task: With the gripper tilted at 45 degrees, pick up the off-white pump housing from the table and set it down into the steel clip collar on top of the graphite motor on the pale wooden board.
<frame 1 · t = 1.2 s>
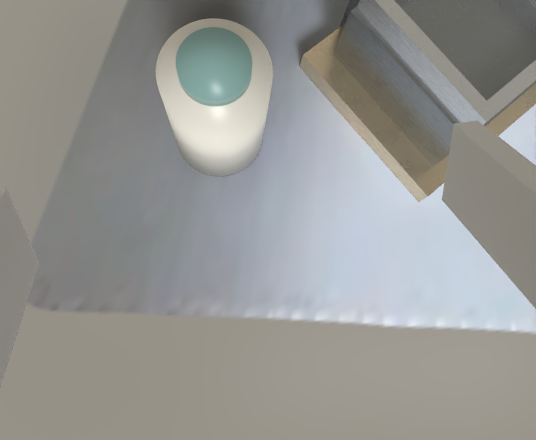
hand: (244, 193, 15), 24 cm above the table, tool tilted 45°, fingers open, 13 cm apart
motor: (427, 77, 43), on the table
pump: (219, 134, 41), on the table
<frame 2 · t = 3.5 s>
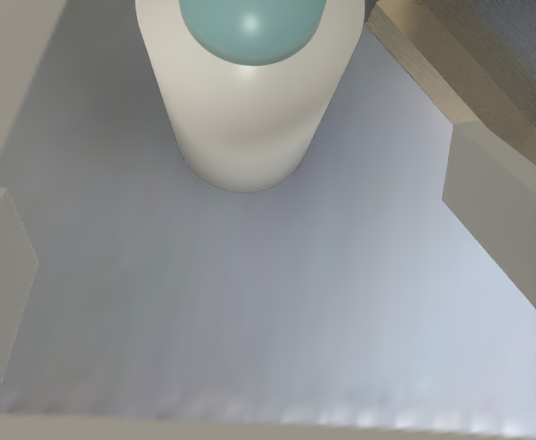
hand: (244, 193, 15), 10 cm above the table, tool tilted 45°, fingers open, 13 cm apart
pump: (243, 127, 26), on the table
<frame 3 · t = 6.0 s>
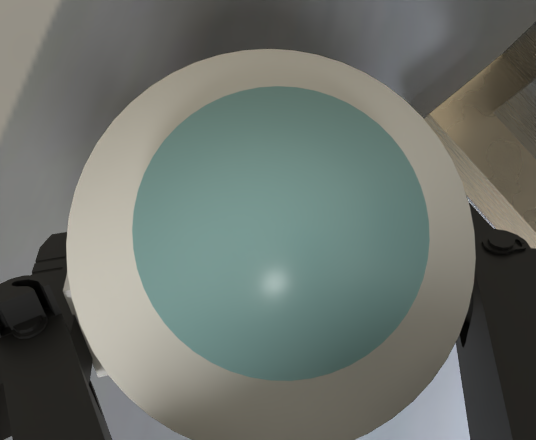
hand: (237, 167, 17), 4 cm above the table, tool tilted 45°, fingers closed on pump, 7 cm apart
pump: (251, 279, 19), on the table, touching gripper
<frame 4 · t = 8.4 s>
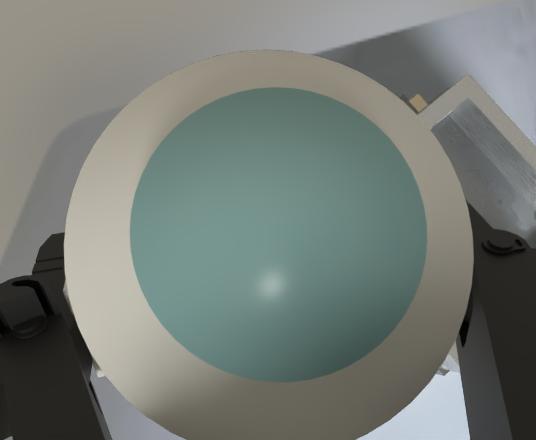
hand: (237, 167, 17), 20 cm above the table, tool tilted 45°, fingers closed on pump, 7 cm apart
motor: (398, 243, 37), on the table
pump: (250, 280, 19), point 16 cm above the table, touching gripper
when the fingers open (13 cm above the table, at t = 11.0 s): pump drops 1 cm, resting on motor.
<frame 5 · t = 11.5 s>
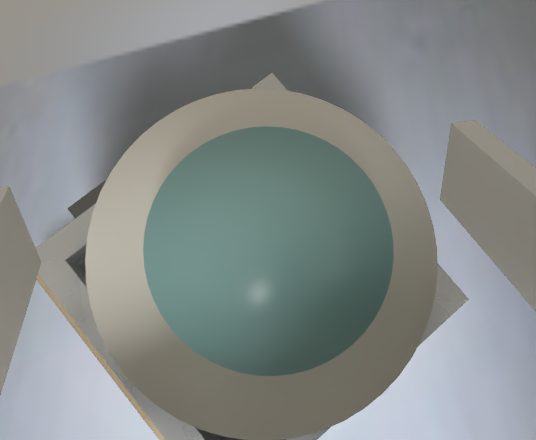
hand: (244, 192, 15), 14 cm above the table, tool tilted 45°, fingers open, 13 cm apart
motor: (244, 290, 29), on the table
pump: (247, 284, 21), point 8 cm above the table, touching motor
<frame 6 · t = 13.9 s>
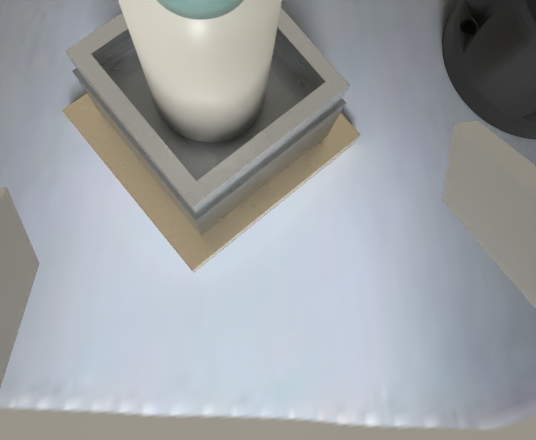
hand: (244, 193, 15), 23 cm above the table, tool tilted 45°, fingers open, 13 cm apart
motor: (214, 132, 39), on the table
pump: (209, 88, 31), point 8 cm above the table, touching motor
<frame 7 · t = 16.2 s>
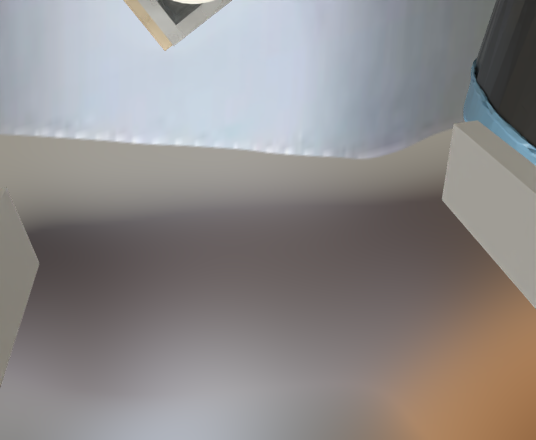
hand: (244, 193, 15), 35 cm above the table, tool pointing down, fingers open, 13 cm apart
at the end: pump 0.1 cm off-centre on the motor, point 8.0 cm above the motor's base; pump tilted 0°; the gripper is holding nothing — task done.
